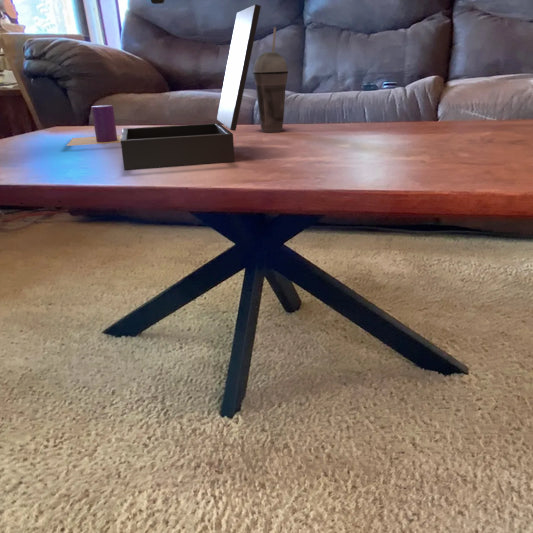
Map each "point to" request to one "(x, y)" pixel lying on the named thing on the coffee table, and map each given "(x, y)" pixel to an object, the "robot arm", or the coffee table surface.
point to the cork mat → (90, 141)
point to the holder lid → (238, 66)
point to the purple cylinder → (104, 123)
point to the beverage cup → (271, 89)
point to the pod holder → (176, 146)
